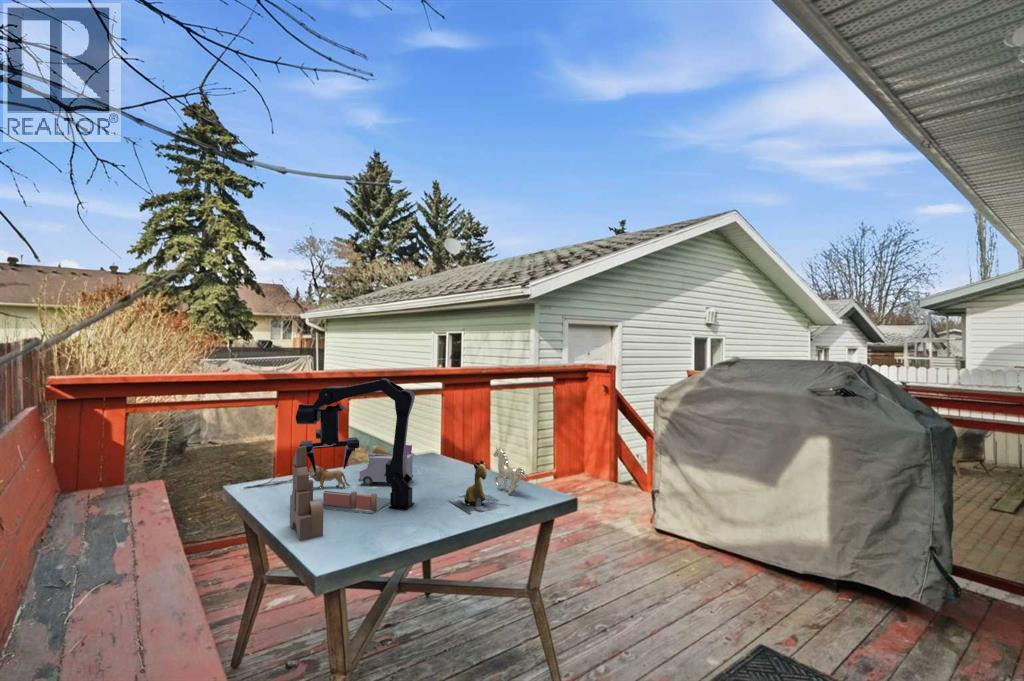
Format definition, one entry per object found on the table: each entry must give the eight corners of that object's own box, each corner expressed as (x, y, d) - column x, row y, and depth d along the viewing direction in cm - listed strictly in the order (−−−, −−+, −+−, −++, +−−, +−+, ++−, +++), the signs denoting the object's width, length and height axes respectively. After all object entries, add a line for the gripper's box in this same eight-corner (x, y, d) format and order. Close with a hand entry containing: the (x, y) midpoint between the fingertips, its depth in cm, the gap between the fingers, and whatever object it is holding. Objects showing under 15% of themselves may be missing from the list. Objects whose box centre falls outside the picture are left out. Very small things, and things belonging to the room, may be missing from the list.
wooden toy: (324, 536, 142) (325, 449, 142) (299, 541, 138) (300, 452, 138) (311, 519, 155) (312, 440, 155) (288, 523, 151) (289, 442, 151)
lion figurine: (308, 491, 182) (308, 467, 182) (309, 487, 187) (309, 464, 187) (349, 488, 186) (350, 465, 186) (350, 484, 192) (350, 461, 192)
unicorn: (529, 499, 177) (530, 451, 177) (521, 501, 175) (521, 453, 175) (497, 485, 193) (498, 441, 193) (489, 487, 191) (489, 443, 191)
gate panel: (351, 506, 165) (351, 493, 165) (349, 507, 164) (349, 494, 164) (325, 503, 168) (325, 490, 168) (323, 504, 167) (323, 491, 166)
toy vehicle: (365, 479, 198) (366, 442, 198) (413, 481, 198) (414, 443, 198) (357, 486, 189) (358, 447, 189) (408, 488, 188) (408, 448, 188)
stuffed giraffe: (469, 515, 161) (470, 465, 161) (444, 501, 176) (446, 456, 176) (510, 508, 169) (511, 461, 170) (483, 495, 184) (484, 452, 185)
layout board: (395, 499, 174) (395, 498, 174) (372, 514, 160) (372, 513, 160) (342, 494, 180) (342, 493, 180) (316, 507, 165) (316, 506, 165)
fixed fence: (377, 510, 163) (377, 493, 163) (374, 512, 161) (374, 495, 161) (352, 507, 165) (353, 491, 165) (349, 509, 164) (350, 492, 164)
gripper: (356, 418, 177) (356, 462, 177) (299, 422, 170) (300, 467, 170) (359, 423, 167) (359, 469, 167) (299, 427, 160) (299, 475, 160)
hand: (329, 470), depth 166 cm, fingers open, 9 cm apart
